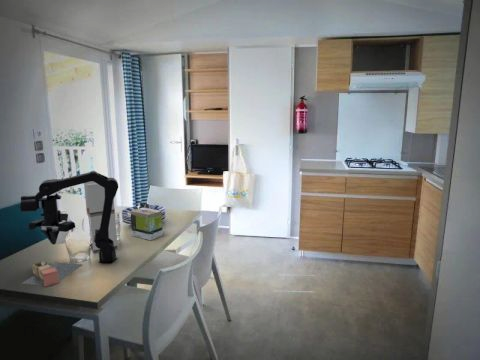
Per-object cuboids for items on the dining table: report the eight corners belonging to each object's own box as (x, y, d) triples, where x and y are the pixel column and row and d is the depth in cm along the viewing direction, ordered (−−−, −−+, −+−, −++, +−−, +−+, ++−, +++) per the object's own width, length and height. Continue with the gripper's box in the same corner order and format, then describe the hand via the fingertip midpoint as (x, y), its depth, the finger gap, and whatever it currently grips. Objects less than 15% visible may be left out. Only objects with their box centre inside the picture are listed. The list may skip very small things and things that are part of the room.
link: (59, 279, 142) (58, 270, 141) (46, 284, 138) (44, 274, 137) (46, 268, 151) (45, 260, 150) (33, 273, 147) (32, 264, 146)
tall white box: (112, 242, 182) (107, 178, 176) (117, 249, 174) (112, 182, 167) (90, 247, 176) (83, 181, 169) (93, 254, 168) (87, 184, 161)
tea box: (163, 235, 193) (162, 210, 190) (150, 241, 185) (148, 214, 182) (144, 230, 201) (143, 206, 198) (131, 235, 193) (129, 210, 190)
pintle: (47, 271, 149) (46, 261, 148) (44, 272, 147) (43, 262, 146) (44, 270, 149) (42, 261, 148) (41, 272, 148) (40, 262, 147)
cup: (62, 243, 181) (59, 214, 178) (49, 242, 183) (45, 214, 180) (73, 238, 189) (70, 210, 186) (60, 237, 191) (56, 209, 187)
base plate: (83, 265, 155) (83, 264, 155) (51, 287, 136) (51, 286, 136) (55, 263, 158) (55, 262, 158) (21, 284, 139) (21, 283, 138)
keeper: (58, 284, 139) (57, 271, 138) (45, 288, 136) (43, 274, 135) (56, 280, 142) (54, 267, 141) (42, 283, 139) (41, 270, 138)
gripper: (81, 205, 152) (84, 238, 155) (44, 203, 156) (48, 236, 159) (64, 212, 142) (68, 248, 145) (25, 210, 145) (29, 245, 148)
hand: (54, 244), depth 149 cm, fingers closed
